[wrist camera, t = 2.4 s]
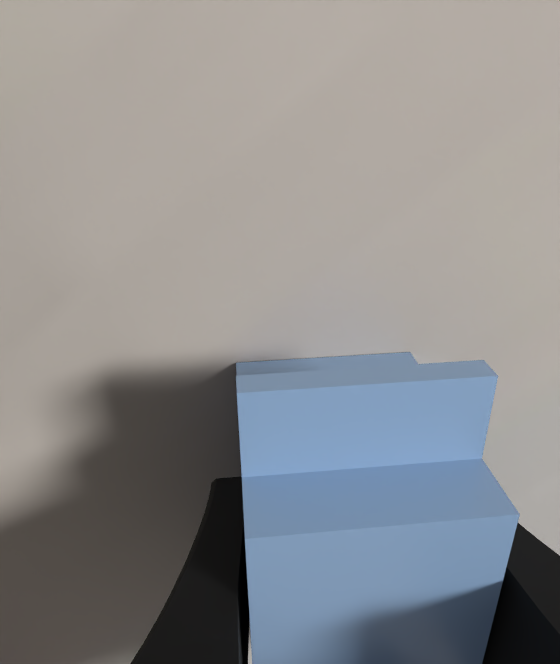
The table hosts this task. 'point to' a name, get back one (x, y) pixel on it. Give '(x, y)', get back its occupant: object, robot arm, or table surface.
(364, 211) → the table surface
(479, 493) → the block
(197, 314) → the table surface
